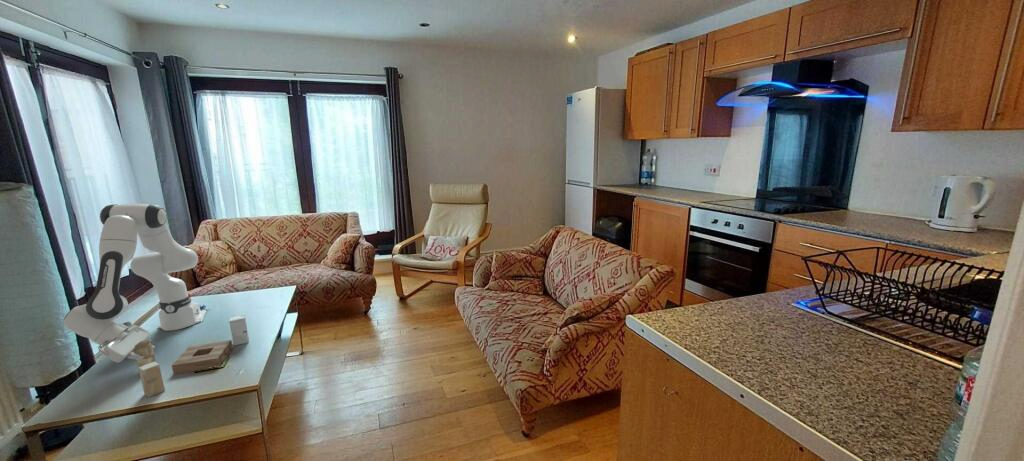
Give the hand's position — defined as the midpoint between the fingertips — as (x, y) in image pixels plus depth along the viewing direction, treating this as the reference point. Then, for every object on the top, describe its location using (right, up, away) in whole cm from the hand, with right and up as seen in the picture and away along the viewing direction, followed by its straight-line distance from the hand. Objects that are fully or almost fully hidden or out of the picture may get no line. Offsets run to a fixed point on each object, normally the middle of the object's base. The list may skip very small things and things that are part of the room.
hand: (147, 353), depth 167 cm
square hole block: (+18, -5, +7) cm, 20 cm away
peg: (-1, -7, +1) cm, 7 cm away
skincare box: (+24, -1, +22) cm, 32 cm away
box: (+15, -10, -14) cm, 23 cm away
